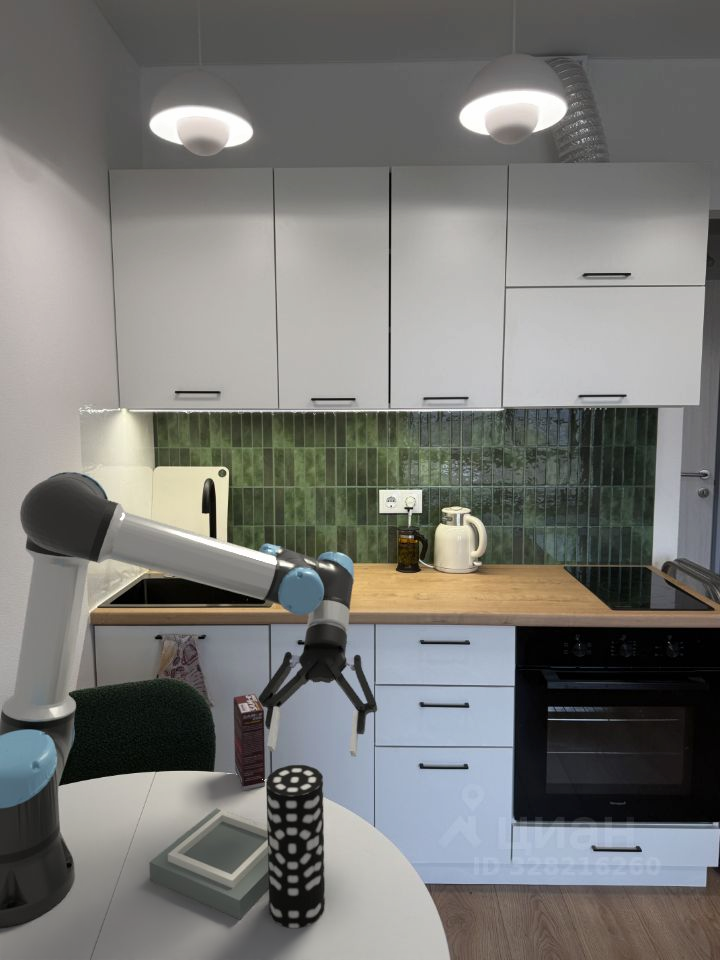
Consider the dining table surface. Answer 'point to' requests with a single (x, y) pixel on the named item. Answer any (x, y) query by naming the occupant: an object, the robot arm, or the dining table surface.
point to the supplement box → (249, 741)
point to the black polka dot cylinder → (295, 845)
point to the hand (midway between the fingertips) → (311, 751)
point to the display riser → (217, 863)
